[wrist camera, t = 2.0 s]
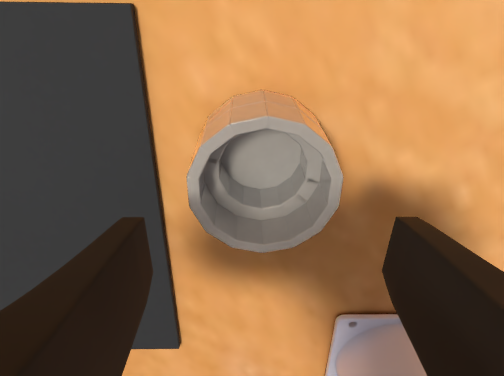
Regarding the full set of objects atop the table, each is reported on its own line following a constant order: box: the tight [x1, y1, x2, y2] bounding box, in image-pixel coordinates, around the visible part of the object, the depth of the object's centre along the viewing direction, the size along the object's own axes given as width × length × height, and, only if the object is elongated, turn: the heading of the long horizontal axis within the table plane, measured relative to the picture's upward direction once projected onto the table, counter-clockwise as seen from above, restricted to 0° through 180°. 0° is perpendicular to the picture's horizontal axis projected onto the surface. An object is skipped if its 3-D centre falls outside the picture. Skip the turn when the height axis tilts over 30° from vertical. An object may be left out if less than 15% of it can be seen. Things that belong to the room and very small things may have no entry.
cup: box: [187, 90, 343, 253], centre depth 15 cm, size 6×6×4 cm
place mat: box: [0, 2, 180, 349], centre depth 18 cm, size 11×20×1 cm, turn 179°
